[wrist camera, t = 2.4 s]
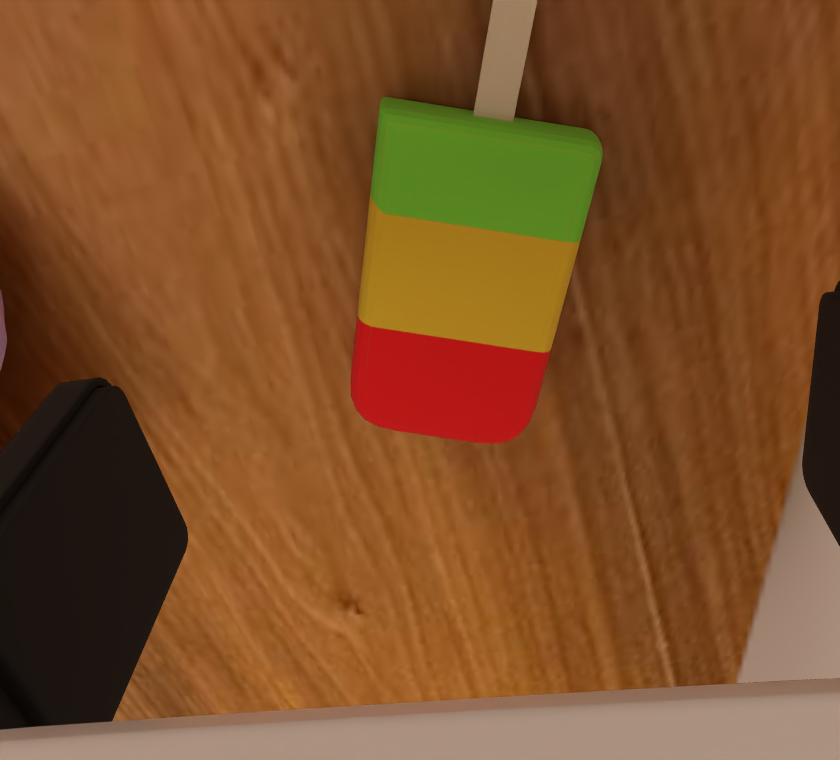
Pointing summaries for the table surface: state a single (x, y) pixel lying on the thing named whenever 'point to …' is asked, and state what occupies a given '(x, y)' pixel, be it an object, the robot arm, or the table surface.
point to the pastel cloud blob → (2, 332)
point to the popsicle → (468, 252)
